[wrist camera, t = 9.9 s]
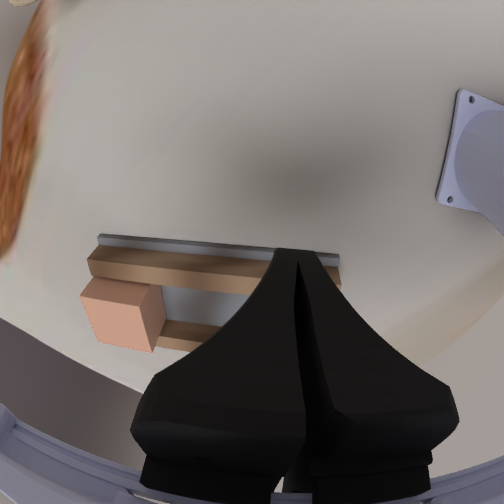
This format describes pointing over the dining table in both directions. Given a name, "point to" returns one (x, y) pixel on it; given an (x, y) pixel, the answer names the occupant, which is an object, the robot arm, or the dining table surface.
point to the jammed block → (124, 312)
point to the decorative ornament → (21, 2)
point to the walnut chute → (190, 280)
